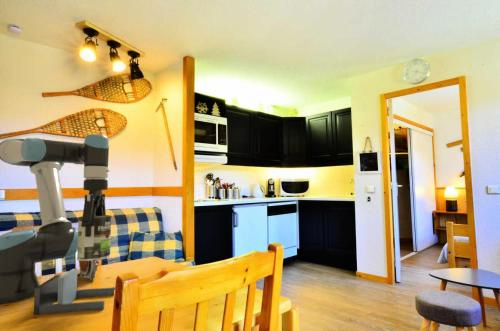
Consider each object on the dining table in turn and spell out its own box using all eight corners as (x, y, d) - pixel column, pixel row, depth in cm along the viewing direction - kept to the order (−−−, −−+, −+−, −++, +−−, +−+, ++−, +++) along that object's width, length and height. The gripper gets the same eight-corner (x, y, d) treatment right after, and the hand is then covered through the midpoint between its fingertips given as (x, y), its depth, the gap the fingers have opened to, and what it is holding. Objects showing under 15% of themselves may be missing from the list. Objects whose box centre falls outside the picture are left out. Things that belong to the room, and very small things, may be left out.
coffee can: (117, 254, 105) (117, 215, 106) (96, 262, 95) (97, 217, 96) (91, 253, 107) (92, 214, 108) (69, 260, 97) (70, 217, 98)
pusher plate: (57, 310, 93) (58, 278, 94) (71, 297, 104) (72, 268, 105) (62, 310, 93) (63, 277, 94) (76, 297, 104) (77, 268, 105)
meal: (72, 276, 130) (73, 246, 131) (82, 274, 134) (83, 245, 135) (88, 283, 121) (88, 250, 122) (98, 280, 124) (99, 249, 125)
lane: (33, 315, 91) (34, 288, 91) (55, 298, 104) (55, 275, 105) (103, 309, 94) (103, 284, 95) (115, 294, 108) (115, 271, 108)
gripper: (96, 177, 93) (95, 249, 91) (115, 179, 115) (114, 237, 113) (70, 177, 92) (68, 250, 90) (95, 179, 114) (93, 238, 112)
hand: (94, 243), depth 102 cm, fingers closed on coffee can, 10 cm apart
